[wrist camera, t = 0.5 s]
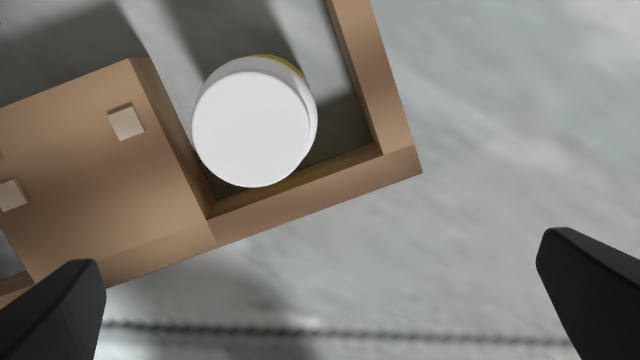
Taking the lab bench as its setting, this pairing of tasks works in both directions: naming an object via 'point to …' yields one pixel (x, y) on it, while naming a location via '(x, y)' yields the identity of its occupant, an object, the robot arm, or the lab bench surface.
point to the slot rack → (169, 168)
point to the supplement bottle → (254, 120)
